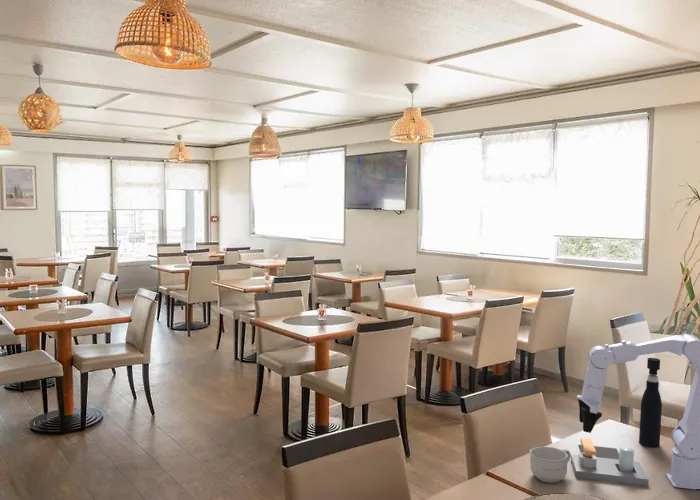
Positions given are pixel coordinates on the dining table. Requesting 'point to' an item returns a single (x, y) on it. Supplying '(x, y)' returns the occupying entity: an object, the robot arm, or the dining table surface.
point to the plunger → (588, 447)
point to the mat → (604, 452)
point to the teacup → (549, 463)
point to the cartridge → (626, 459)
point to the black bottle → (651, 408)
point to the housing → (607, 470)
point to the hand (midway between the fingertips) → (584, 427)
